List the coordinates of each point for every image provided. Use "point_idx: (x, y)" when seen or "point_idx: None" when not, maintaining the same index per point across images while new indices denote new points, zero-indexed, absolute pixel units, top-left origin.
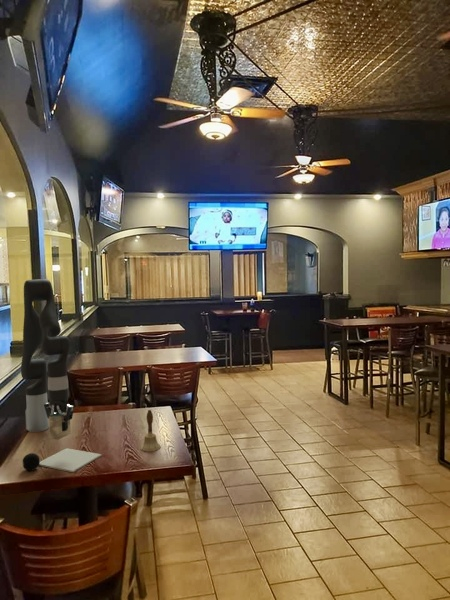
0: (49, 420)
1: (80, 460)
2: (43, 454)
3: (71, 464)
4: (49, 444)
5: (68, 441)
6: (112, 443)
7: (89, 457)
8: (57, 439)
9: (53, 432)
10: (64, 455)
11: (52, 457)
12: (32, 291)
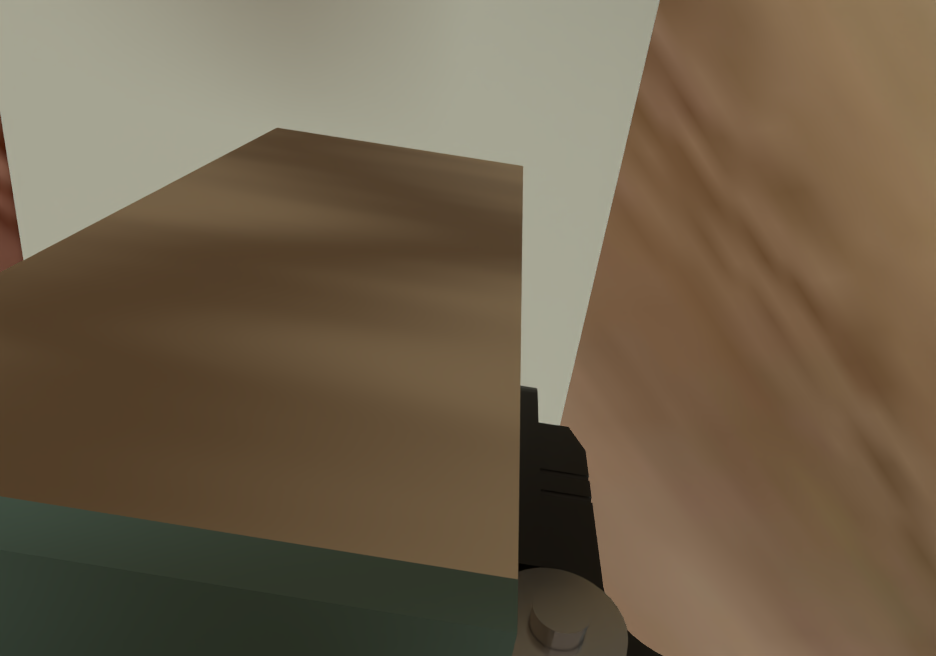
0: (491, 401)
1: (130, 170)
2: (770, 280)
3: (144, 22)
4: (847, 536)
5: (662, 620)
6: None
7: None
8: (288, 131)
9: (372, 190)
10: None
11: (560, 180)
12: None
